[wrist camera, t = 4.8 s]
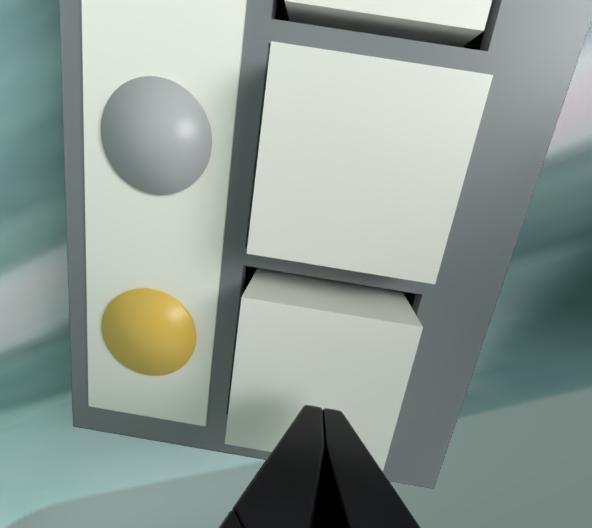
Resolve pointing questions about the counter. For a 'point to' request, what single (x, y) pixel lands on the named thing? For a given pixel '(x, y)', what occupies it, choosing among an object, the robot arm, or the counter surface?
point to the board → (239, 196)
